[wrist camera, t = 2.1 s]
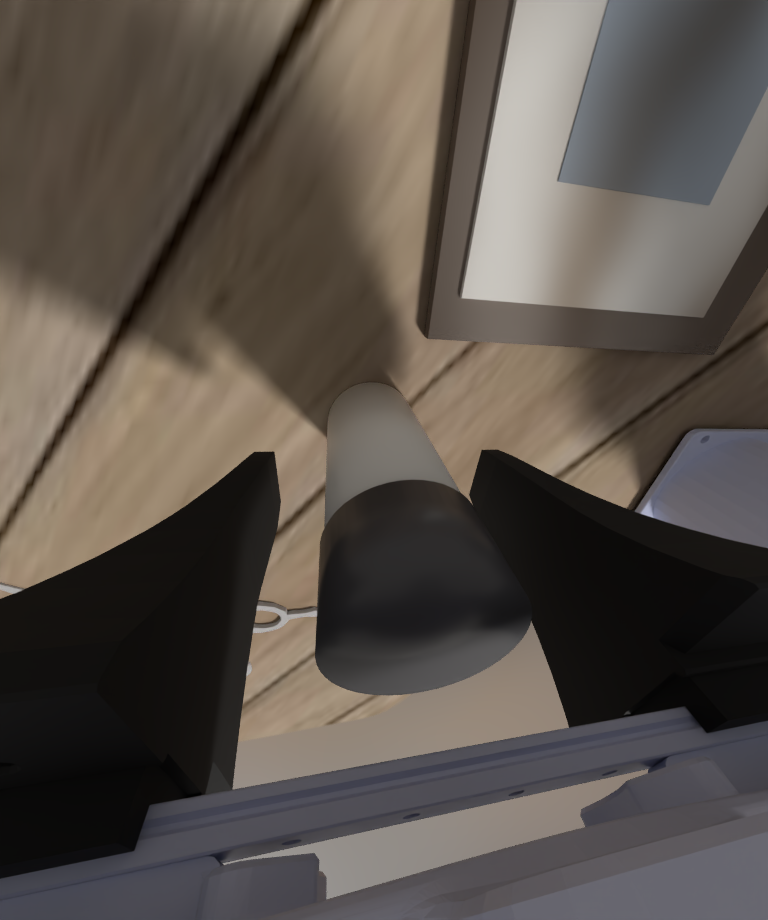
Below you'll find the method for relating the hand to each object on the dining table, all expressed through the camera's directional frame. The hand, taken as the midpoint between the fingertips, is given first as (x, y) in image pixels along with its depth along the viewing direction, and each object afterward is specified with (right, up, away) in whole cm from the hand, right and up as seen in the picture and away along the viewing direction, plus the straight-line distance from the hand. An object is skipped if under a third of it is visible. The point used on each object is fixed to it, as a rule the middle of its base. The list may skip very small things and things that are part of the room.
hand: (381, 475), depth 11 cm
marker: (-1, +2, +4) cm, 4 cm away
